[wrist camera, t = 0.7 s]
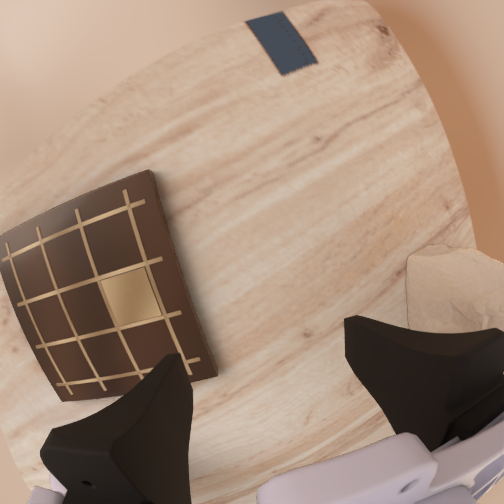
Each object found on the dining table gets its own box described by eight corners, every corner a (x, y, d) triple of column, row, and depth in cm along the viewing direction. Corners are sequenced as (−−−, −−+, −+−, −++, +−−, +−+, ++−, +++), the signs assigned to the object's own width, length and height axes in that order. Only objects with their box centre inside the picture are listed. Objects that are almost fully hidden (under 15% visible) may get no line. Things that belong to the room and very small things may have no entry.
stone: (433, 333, 24) (510, 384, 13) (397, 344, 24) (475, 410, 13) (445, 235, 22) (543, 259, 11) (407, 238, 22) (516, 268, 11)
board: (65, 396, 21) (61, 403, 19) (-2, 239, 17) (-10, 240, 16) (218, 369, 22) (218, 377, 21) (151, 170, 19) (148, 168, 17)
